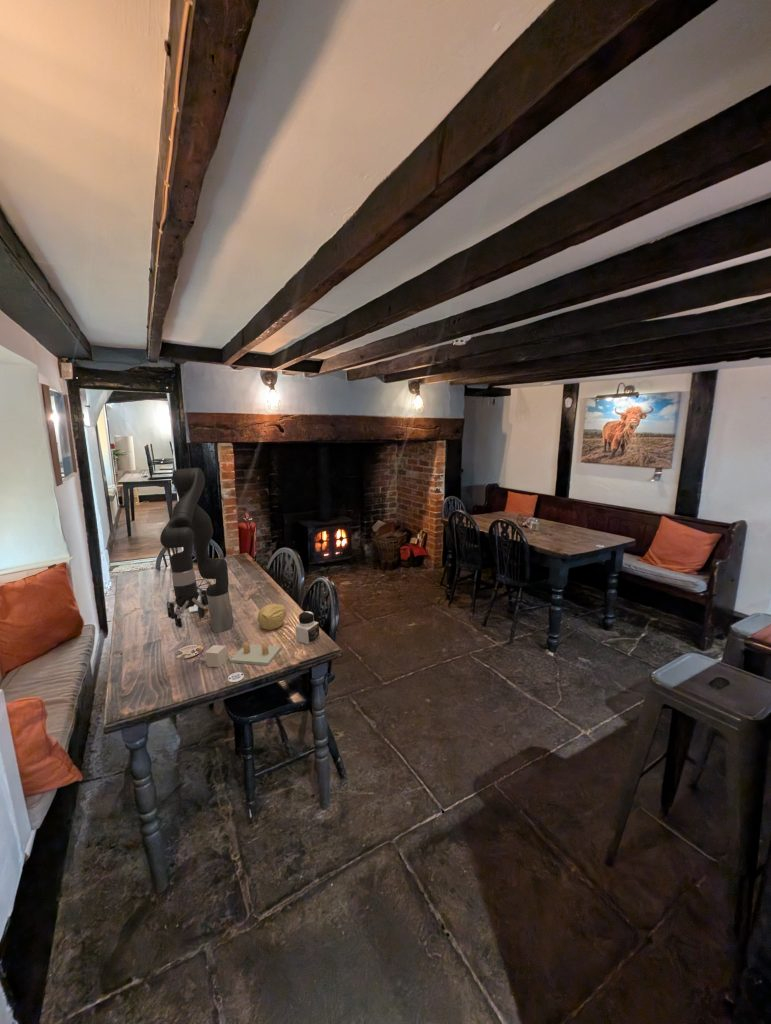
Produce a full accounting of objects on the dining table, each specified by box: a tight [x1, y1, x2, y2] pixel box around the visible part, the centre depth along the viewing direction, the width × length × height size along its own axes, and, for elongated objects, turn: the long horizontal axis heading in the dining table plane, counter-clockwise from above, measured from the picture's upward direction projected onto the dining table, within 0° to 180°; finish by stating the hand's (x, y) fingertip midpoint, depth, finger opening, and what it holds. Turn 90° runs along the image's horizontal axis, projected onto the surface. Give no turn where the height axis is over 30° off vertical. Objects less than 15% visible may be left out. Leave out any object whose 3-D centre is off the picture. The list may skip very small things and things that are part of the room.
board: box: [229, 641, 283, 667], centre depth 166 cm, size 12×16×5 cm
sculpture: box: [257, 602, 287, 631], centre depth 190 cm, size 12×12×11 cm
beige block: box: [204, 644, 228, 668], centre depth 162 cm, size 5×5×6 cm
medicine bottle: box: [294, 611, 320, 645], centre depth 177 cm, size 7×7×12 cm
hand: (190, 622), depth 154 cm, fingers open, 8 cm apart
